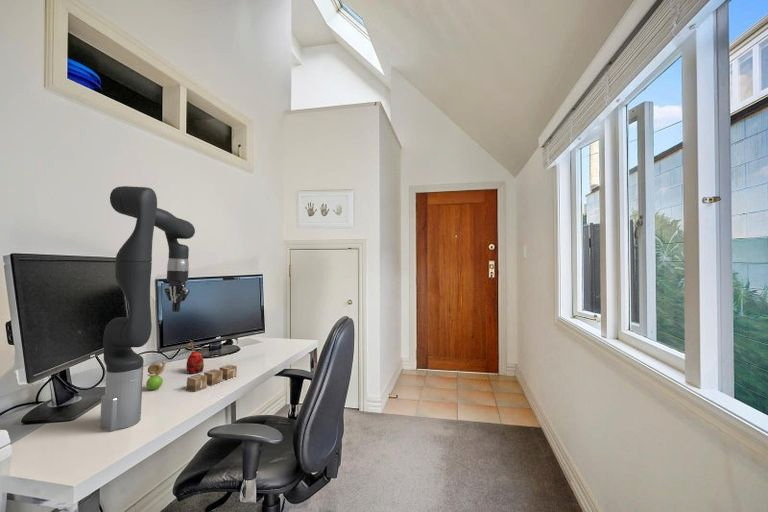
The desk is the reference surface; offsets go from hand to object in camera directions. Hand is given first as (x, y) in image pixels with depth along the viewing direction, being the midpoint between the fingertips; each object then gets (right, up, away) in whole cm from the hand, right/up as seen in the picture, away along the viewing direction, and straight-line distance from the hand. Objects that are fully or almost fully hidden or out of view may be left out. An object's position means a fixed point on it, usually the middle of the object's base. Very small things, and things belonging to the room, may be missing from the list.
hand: (175, 311), depth 133 cm
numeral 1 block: (+10, -31, -2) cm, 33 cm away
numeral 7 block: (+16, -32, +12) cm, 37 cm away
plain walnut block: (+13, -32, +5) cm, 34 cm away
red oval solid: (-3, -32, +19) cm, 37 cm away
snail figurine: (-6, -31, -3) cm, 32 cm away
